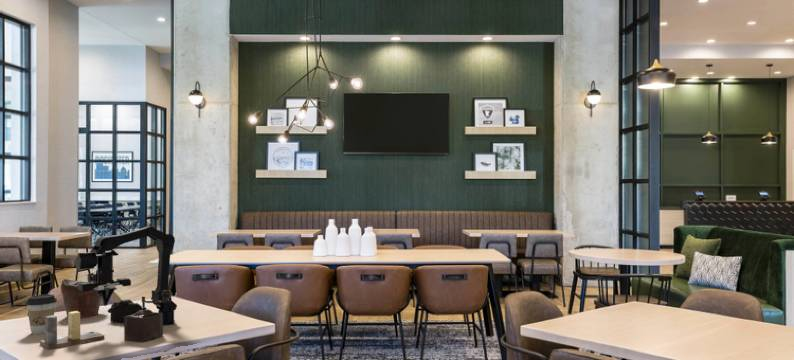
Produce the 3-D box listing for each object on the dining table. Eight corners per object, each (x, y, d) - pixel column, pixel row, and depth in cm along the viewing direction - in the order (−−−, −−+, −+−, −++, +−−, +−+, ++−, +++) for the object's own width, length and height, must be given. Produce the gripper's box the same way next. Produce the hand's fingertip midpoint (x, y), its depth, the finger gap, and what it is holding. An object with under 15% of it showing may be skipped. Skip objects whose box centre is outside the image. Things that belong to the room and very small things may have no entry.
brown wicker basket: (114, 312, 270) (114, 275, 270) (72, 321, 253) (71, 282, 254) (94, 309, 280) (93, 274, 280) (52, 318, 263) (51, 279, 263)
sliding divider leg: (73, 335, 222) (73, 309, 222) (80, 338, 216) (80, 312, 217) (65, 336, 219) (65, 311, 220) (71, 339, 214) (71, 313, 214)
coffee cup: (23, 337, 226) (23, 300, 227) (27, 331, 237) (27, 295, 237) (56, 333, 232) (56, 297, 232) (58, 327, 242) (58, 293, 242)
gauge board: (94, 334, 229) (94, 306, 229) (104, 339, 221) (104, 309, 222) (40, 344, 214) (39, 314, 215) (48, 349, 207) (48, 318, 207)
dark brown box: (144, 342, 215) (143, 296, 215) (123, 340, 219) (123, 294, 220) (174, 333, 229) (174, 289, 230) (154, 330, 234) (154, 287, 234)
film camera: (154, 317, 260) (154, 296, 260) (143, 323, 247) (143, 301, 247) (115, 318, 258) (115, 297, 259) (102, 324, 246) (102, 302, 246)
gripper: (121, 263, 241) (121, 299, 240) (73, 268, 227) (73, 306, 227) (131, 265, 233) (131, 303, 233) (82, 270, 219) (82, 310, 219)
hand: (105, 305), depth 228 cm, fingers closed
